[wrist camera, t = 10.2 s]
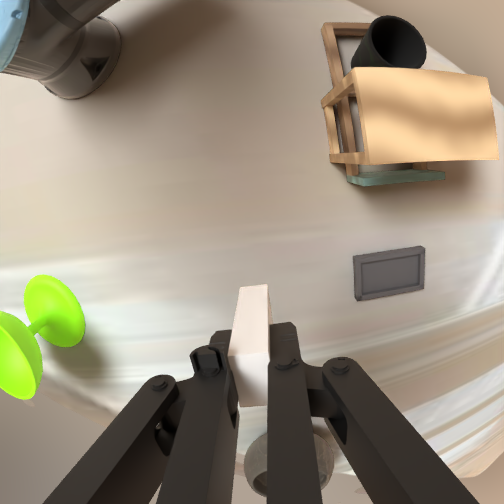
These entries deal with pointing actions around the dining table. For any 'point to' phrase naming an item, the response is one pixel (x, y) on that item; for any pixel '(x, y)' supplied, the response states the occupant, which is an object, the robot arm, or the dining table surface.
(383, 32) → the cup
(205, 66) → the dining table surface
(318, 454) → the bowl
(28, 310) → the wineglass
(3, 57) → the robot arm
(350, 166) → the sled
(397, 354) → the dining table surface
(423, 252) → the tray
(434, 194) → the dining table surface
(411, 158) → the brown wooden frame
